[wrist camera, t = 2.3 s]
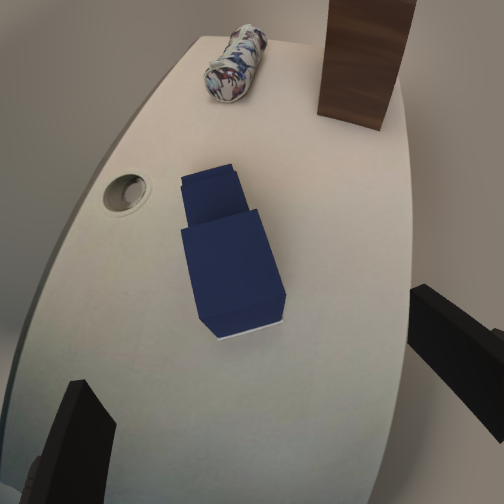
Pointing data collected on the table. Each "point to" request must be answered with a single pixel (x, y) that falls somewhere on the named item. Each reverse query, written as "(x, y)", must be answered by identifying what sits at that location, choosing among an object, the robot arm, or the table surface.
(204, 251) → the blue blocks on base
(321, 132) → the table surface
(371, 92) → the brown box
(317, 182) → the table surface
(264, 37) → the pencil case
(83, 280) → the table surface
